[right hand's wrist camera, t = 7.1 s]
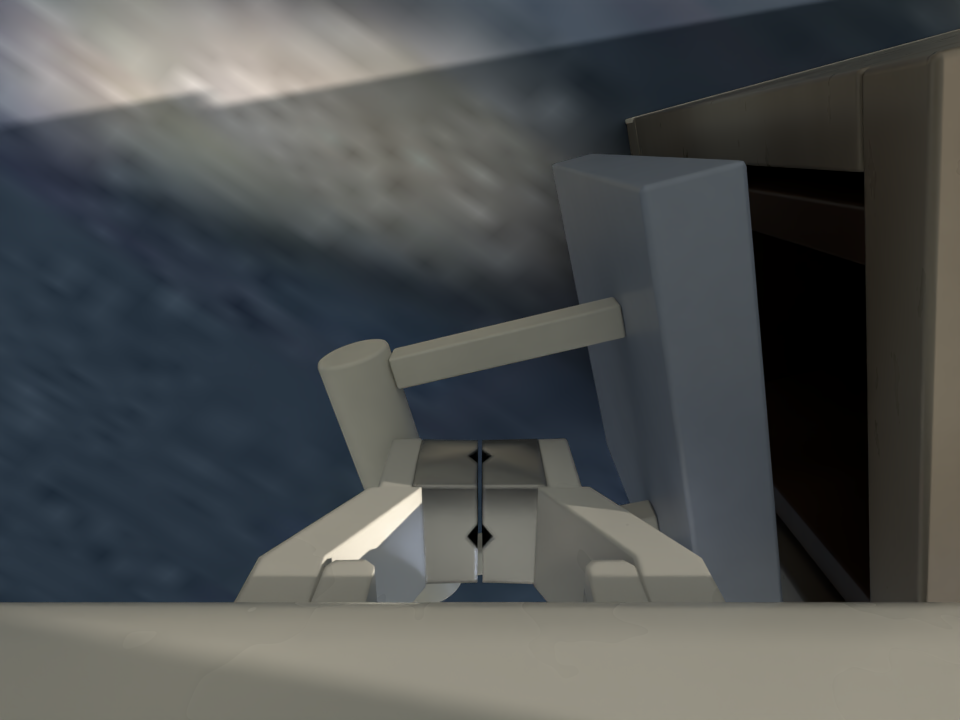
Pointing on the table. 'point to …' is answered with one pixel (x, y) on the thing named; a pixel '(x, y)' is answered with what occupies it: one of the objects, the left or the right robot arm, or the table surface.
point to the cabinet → (873, 280)
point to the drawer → (689, 359)
